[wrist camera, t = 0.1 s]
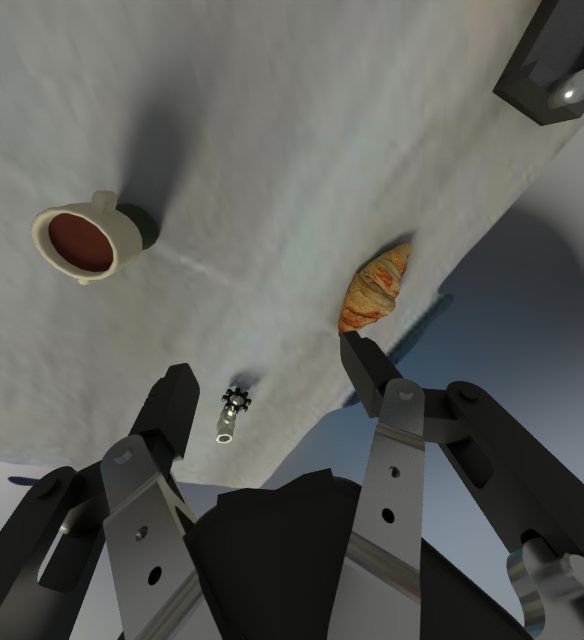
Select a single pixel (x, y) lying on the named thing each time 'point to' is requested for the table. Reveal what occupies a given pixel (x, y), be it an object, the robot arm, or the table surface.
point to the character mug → (93, 236)
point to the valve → (230, 414)
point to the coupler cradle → (548, 65)
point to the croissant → (374, 290)
